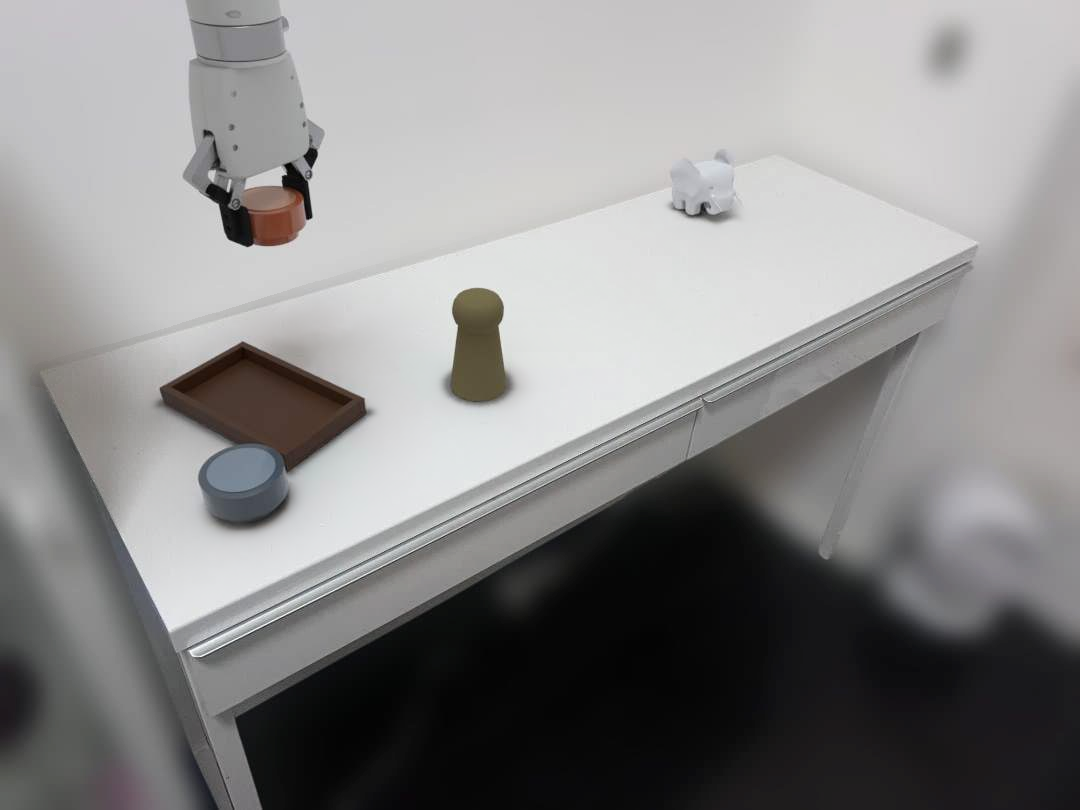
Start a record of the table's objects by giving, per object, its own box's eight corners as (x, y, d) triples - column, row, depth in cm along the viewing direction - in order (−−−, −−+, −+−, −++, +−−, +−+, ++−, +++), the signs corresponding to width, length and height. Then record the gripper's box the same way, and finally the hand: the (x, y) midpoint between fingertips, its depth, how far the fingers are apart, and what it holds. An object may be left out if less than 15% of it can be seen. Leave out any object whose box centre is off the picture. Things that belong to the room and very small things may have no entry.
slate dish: (245, 543, 67) (236, 509, 65) (190, 508, 70) (179, 475, 68) (307, 495, 72) (301, 462, 70) (252, 464, 75) (245, 432, 73)
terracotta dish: (270, 257, 77) (263, 219, 75) (220, 237, 80) (212, 200, 78) (322, 232, 82) (318, 196, 80) (274, 214, 85) (268, 179, 83)
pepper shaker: (493, 363, 90) (493, 275, 83) (515, 393, 85) (518, 303, 79) (441, 375, 87) (438, 286, 81) (462, 407, 83) (460, 315, 76)
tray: (287, 471, 74) (284, 455, 73) (163, 403, 82) (158, 387, 80) (366, 413, 82) (364, 398, 80) (246, 356, 89) (242, 340, 88)
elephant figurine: (707, 232, 119) (717, 174, 113) (651, 203, 126) (659, 147, 121) (751, 218, 123) (763, 161, 118) (695, 190, 131) (704, 136, 125)
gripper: (284, 16, 78) (307, 193, 88) (123, 50, 66) (172, 249, 76) (342, 30, 75) (359, 210, 85) (184, 67, 63) (227, 272, 73)
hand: (270, 227), depth 81 cm, fingers closed on terracotta dish, 7 cm apart
